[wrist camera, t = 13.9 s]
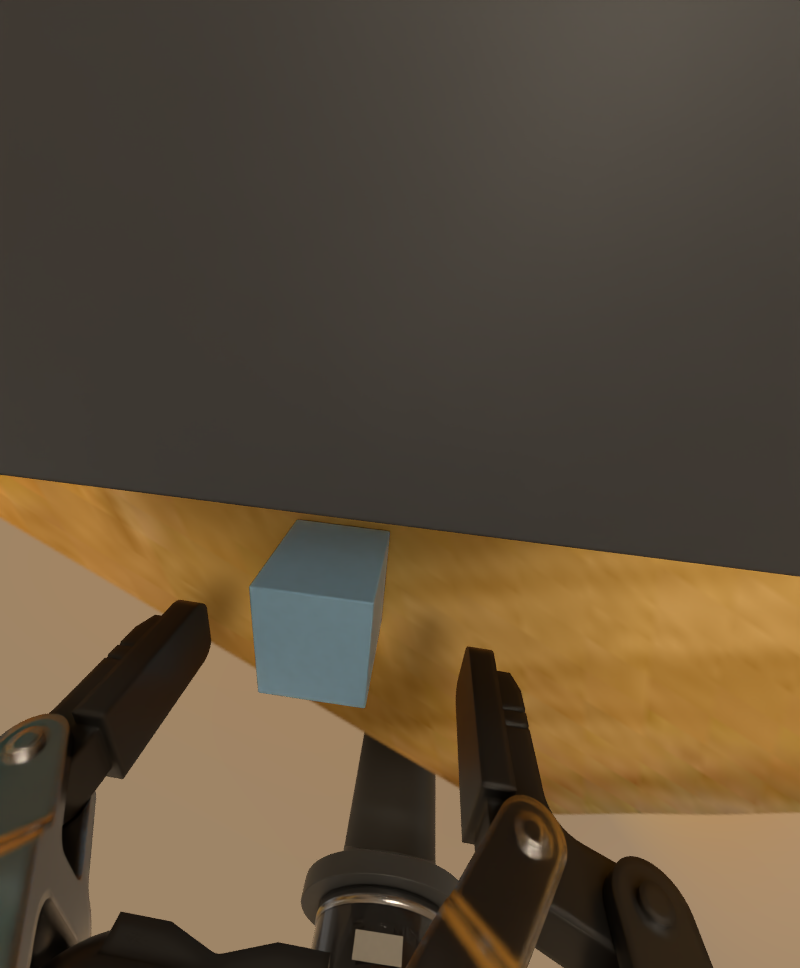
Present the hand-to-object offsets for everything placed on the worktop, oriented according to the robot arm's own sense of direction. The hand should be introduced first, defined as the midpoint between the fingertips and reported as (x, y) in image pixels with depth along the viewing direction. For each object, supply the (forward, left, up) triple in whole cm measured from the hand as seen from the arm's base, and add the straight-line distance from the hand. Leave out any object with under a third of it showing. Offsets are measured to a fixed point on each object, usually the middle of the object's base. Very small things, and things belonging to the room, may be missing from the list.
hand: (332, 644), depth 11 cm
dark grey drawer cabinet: (+14, -1, -4) cm, 14 cm away
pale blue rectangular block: (0, +1, -4) cm, 4 cm away
